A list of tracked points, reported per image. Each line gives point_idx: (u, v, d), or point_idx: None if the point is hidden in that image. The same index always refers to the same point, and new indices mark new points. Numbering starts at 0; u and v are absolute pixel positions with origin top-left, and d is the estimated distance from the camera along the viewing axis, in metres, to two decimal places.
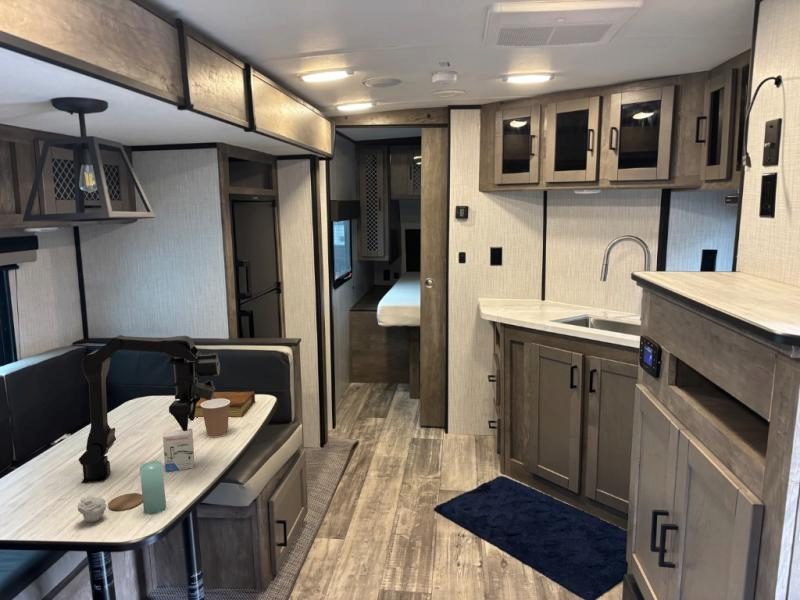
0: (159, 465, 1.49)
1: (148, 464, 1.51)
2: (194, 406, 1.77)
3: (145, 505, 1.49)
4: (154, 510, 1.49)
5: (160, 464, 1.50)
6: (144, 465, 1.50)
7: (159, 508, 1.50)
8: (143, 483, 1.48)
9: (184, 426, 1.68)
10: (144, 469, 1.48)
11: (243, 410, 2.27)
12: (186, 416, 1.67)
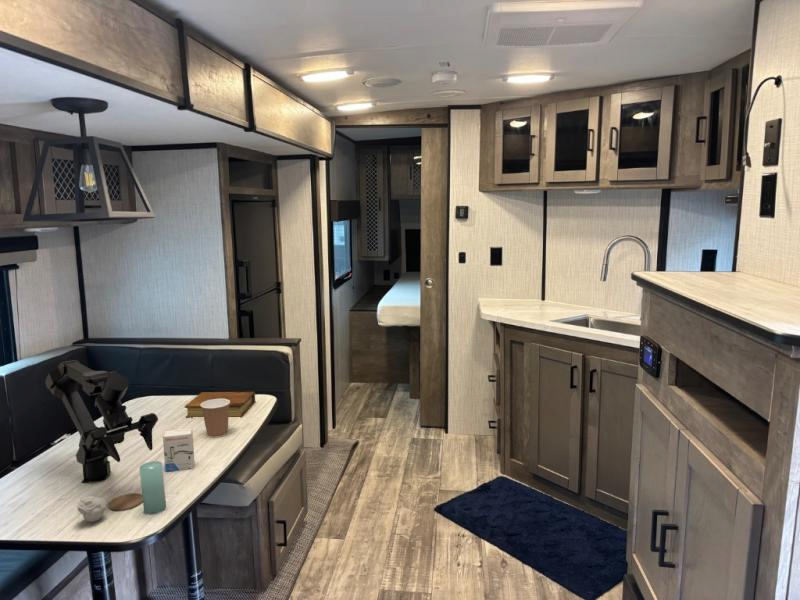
0: (158, 466, 1.49)
1: (148, 464, 1.50)
2: None
3: (145, 505, 1.49)
4: (154, 510, 1.49)
5: (160, 464, 1.50)
6: (144, 465, 1.50)
7: (159, 508, 1.50)
8: (143, 483, 1.48)
9: None
10: (143, 469, 1.48)
11: (243, 410, 2.27)
12: None
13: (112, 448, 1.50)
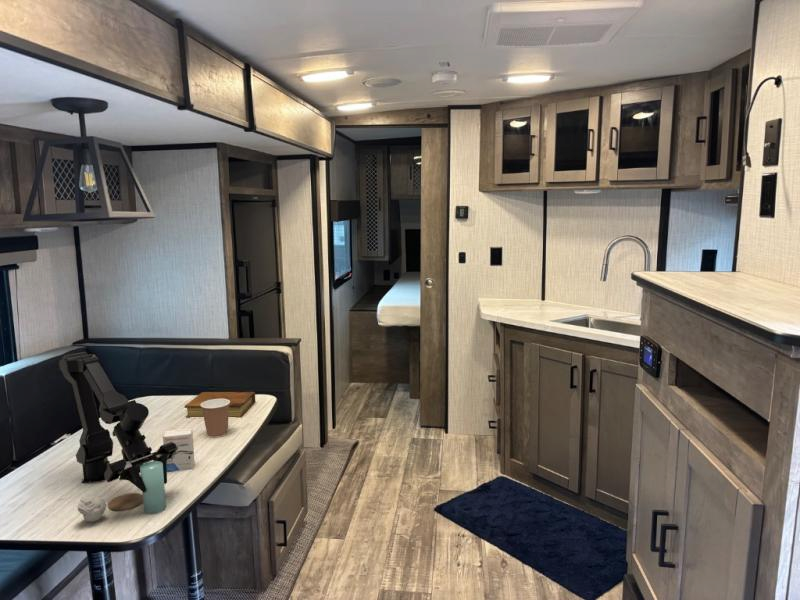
0: (159, 466, 1.49)
1: (149, 464, 1.50)
2: None
3: (145, 505, 1.49)
4: (154, 510, 1.49)
5: (160, 464, 1.50)
6: (144, 465, 1.50)
7: (159, 508, 1.50)
8: None
9: None
10: (144, 469, 1.48)
11: (242, 410, 2.26)
12: None
13: (138, 478, 1.47)
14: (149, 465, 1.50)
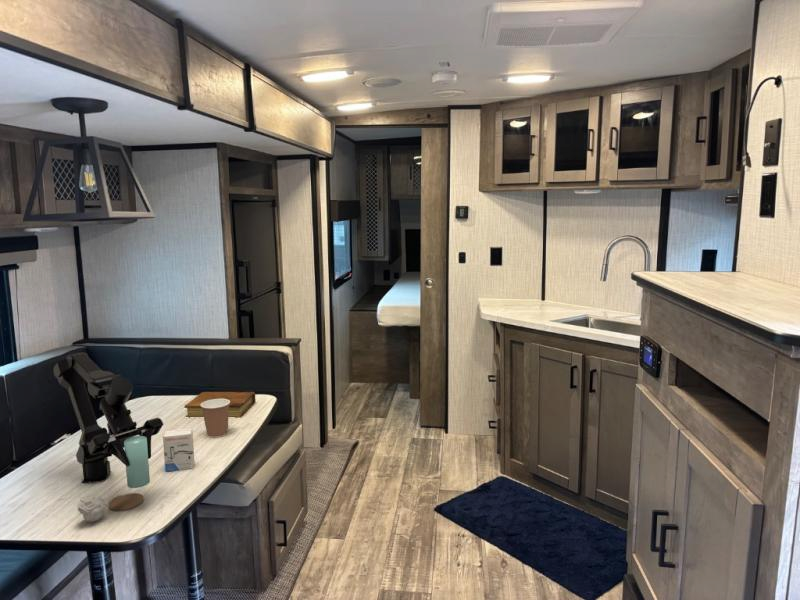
0: (143, 440, 1.50)
1: (133, 438, 1.51)
2: None
3: (128, 479, 1.50)
4: (137, 484, 1.50)
5: (144, 439, 1.51)
6: (128, 439, 1.50)
7: (142, 482, 1.50)
8: (127, 457, 1.48)
9: None
10: (128, 443, 1.48)
11: (242, 410, 2.26)
12: None
13: (121, 452, 1.48)
14: (133, 439, 1.50)
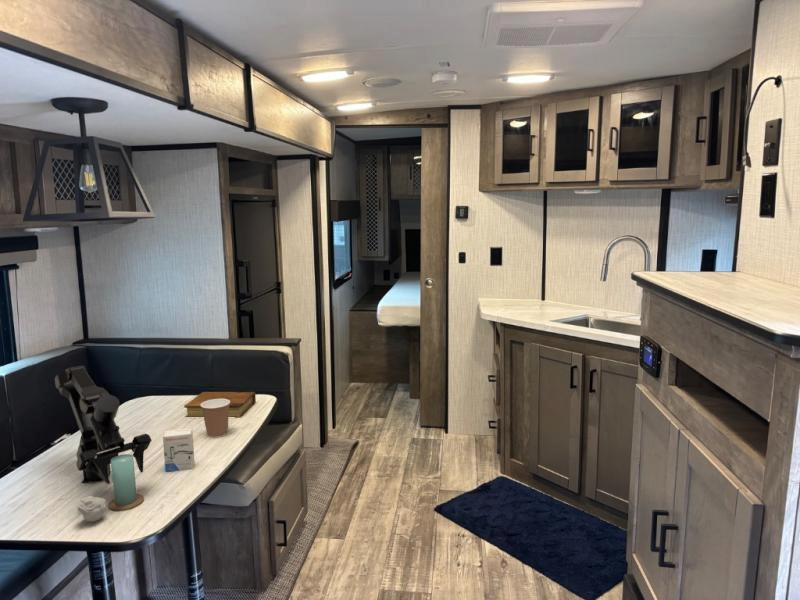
0: (129, 459, 1.53)
1: (120, 457, 1.54)
2: None
3: (115, 497, 1.53)
4: (123, 502, 1.52)
5: (130, 457, 1.54)
6: (115, 458, 1.54)
7: (128, 500, 1.53)
8: (113, 475, 1.52)
9: None
10: (114, 461, 1.52)
11: (242, 411, 2.26)
12: None
13: (102, 470, 1.49)
14: (120, 458, 1.54)
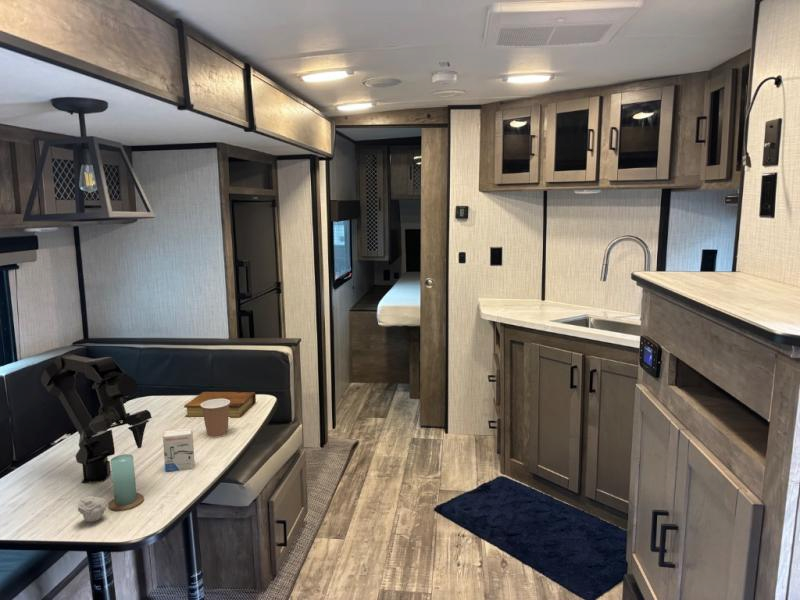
0: (129, 459, 1.53)
1: (120, 457, 1.54)
2: None
3: (115, 497, 1.53)
4: (123, 502, 1.52)
5: (130, 457, 1.54)
6: (115, 458, 1.54)
7: (128, 500, 1.53)
8: (113, 475, 1.52)
9: None
10: (114, 461, 1.51)
11: (242, 411, 2.26)
12: None
13: None
14: (120, 458, 1.54)
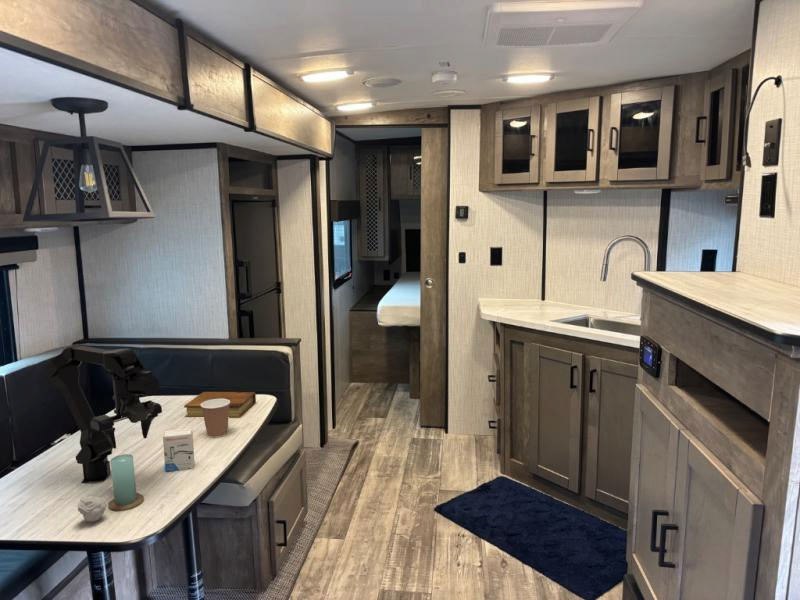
0: (129, 459, 1.53)
1: (120, 457, 1.54)
2: (146, 424, 1.67)
3: (115, 497, 1.53)
4: (123, 502, 1.52)
5: (130, 457, 1.54)
6: (115, 458, 1.54)
7: (128, 500, 1.53)
8: (113, 475, 1.52)
9: (111, 443, 1.60)
10: (114, 461, 1.51)
11: (242, 411, 2.26)
12: None
13: None
14: (120, 458, 1.54)
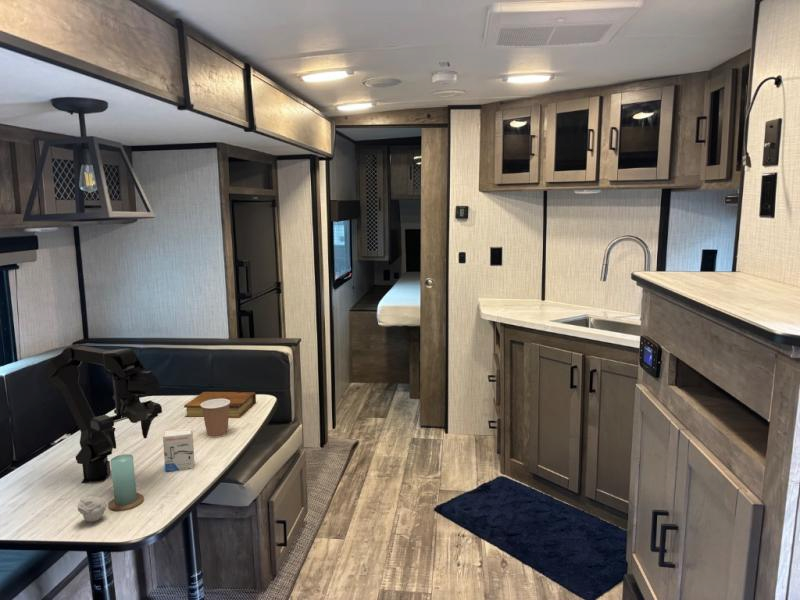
0: (129, 459, 1.53)
1: (120, 457, 1.54)
2: (146, 424, 1.67)
3: (115, 497, 1.53)
4: (123, 502, 1.52)
5: (130, 457, 1.54)
6: (115, 458, 1.54)
7: (128, 500, 1.53)
8: (113, 475, 1.52)
9: (111, 443, 1.60)
10: (114, 461, 1.51)
11: (241, 411, 2.26)
12: None
13: None
14: (120, 458, 1.54)
